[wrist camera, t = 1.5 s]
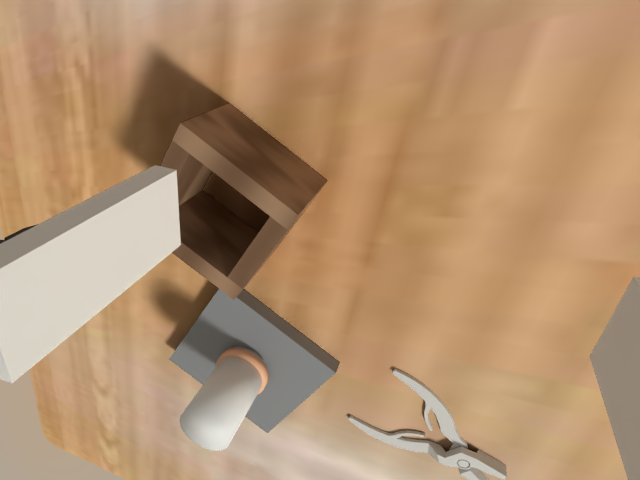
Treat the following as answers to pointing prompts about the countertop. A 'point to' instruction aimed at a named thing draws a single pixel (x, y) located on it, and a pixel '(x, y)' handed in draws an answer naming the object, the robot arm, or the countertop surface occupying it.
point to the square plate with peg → (246, 369)
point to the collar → (248, 179)
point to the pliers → (454, 457)
